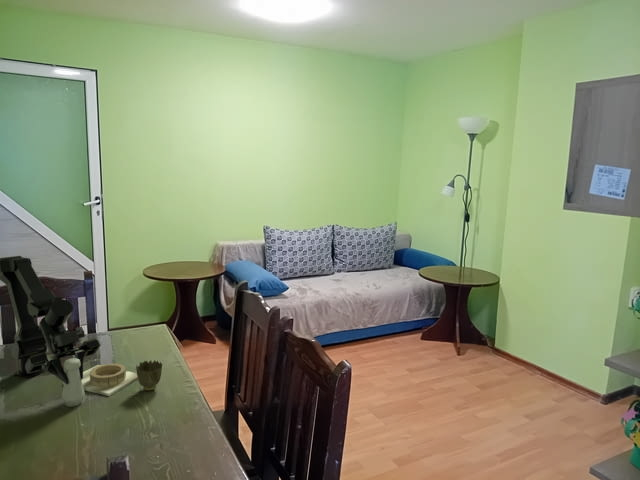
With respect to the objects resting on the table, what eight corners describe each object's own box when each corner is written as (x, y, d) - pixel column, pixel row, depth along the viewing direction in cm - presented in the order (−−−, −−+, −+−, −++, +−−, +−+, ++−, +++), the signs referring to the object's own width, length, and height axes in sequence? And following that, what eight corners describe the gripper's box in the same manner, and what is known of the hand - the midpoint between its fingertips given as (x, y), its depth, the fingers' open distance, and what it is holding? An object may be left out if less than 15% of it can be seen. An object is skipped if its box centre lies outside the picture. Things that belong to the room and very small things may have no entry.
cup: (154, 397, 137) (153, 371, 136) (131, 393, 138) (130, 368, 137) (167, 385, 144) (166, 361, 143) (145, 382, 145) (145, 358, 144)
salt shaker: (67, 398, 134) (66, 355, 132) (88, 398, 135) (86, 355, 133) (58, 408, 129) (56, 364, 127) (79, 408, 129) (78, 364, 127)
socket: (62, 384, 142) (62, 373, 142) (98, 366, 155) (97, 356, 155) (109, 396, 136) (108, 384, 136) (142, 376, 149) (141, 365, 149)
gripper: (26, 328, 123) (47, 379, 118) (96, 312, 138) (116, 357, 133) (16, 348, 129) (35, 398, 124) (84, 331, 144) (103, 375, 139)
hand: (74, 381), depth 130 cm, fingers closed on salt shaker, 3 cm apart
